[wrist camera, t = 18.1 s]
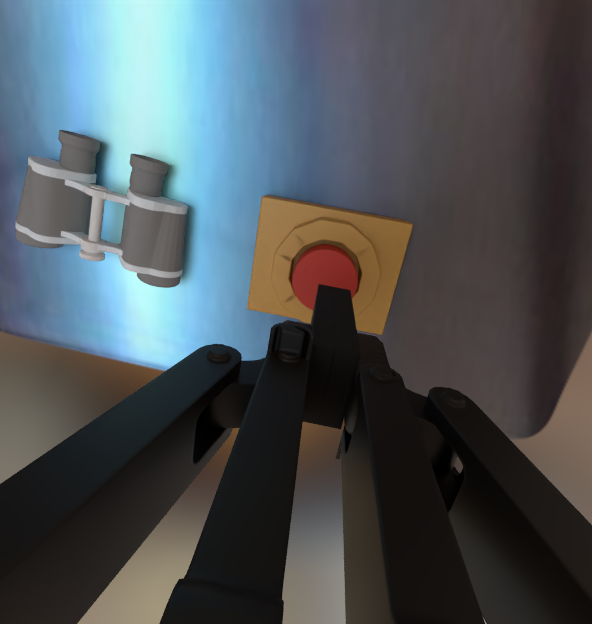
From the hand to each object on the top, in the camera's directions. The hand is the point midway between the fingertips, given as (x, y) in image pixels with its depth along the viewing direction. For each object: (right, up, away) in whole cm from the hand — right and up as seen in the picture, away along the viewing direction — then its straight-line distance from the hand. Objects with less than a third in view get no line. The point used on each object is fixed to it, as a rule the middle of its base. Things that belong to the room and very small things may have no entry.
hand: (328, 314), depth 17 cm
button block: (+1, +4, +10) cm, 11 cm away
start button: (0, +3, +7) cm, 7 cm away
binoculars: (-15, +8, +10) cm, 19 cm away
